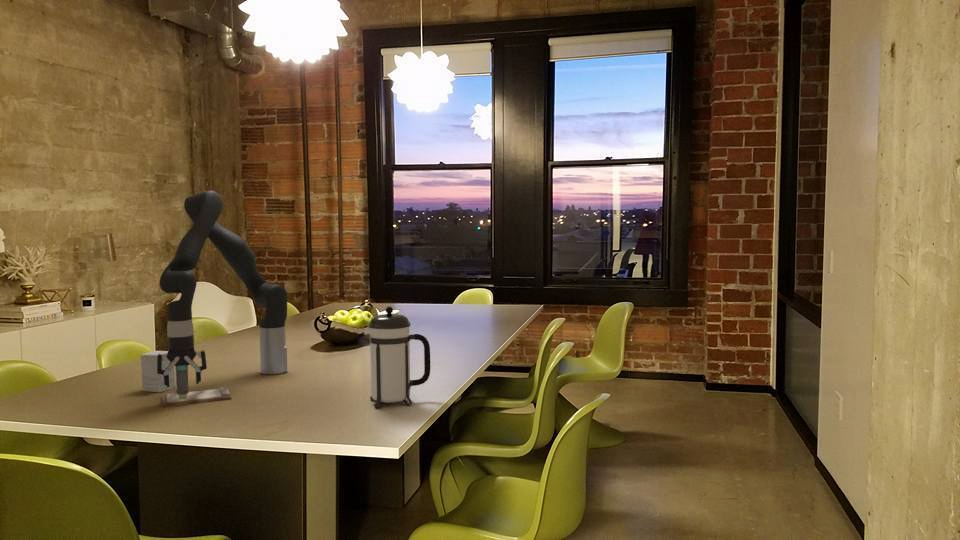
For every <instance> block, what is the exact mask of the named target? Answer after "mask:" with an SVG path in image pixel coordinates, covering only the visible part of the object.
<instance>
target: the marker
mask: <svg viewBox="0 0 960 540" xmlns="http://www.w3.org/2000/svg"><path fill="white" fill-rule="evenodd" d="M175 377H176V379H175V380H176V382H175V385H176V393H177V394H179V398H180V399H183V398H187V393H189V392H190V391H189V365H188V366H187V365H181V366H175Z"/></svg>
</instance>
